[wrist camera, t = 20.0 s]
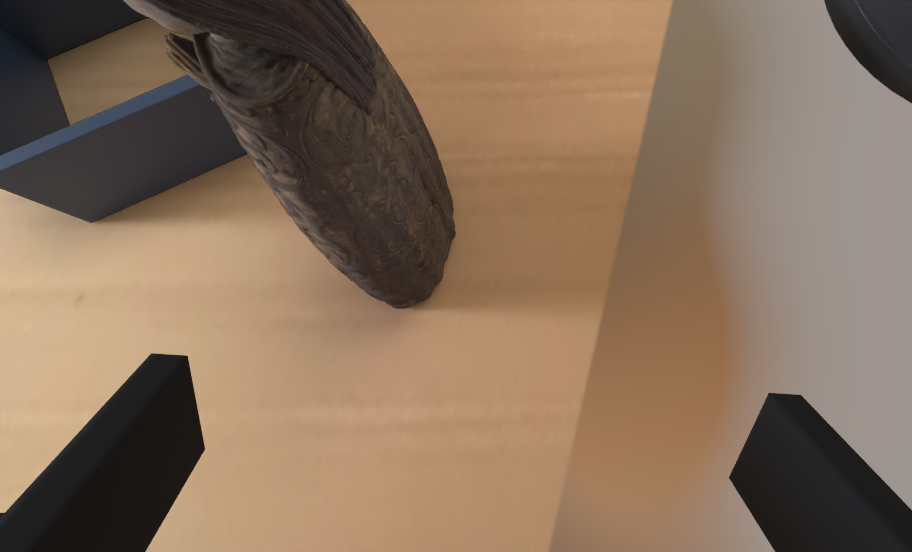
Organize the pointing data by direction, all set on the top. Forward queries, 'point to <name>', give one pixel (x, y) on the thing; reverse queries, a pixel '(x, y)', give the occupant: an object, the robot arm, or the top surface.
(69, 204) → the bin
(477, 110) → the top surface
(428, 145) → the statue
